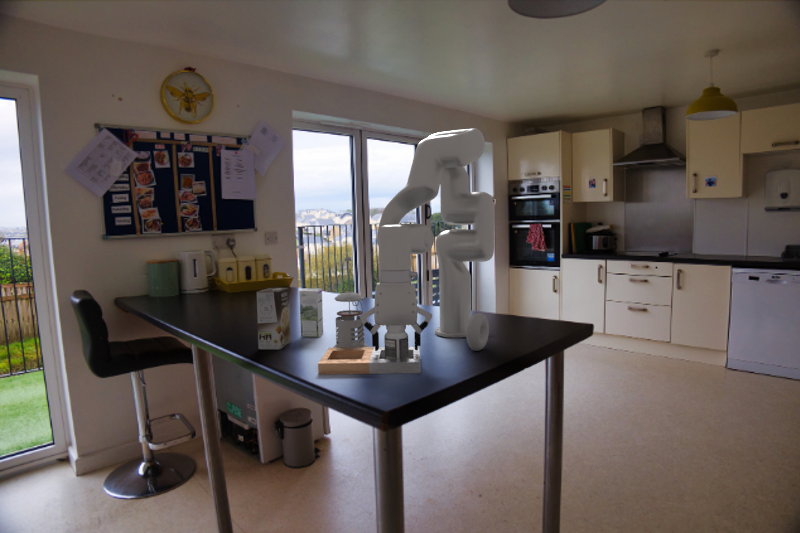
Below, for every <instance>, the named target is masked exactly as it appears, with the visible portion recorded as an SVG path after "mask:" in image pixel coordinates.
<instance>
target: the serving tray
mask: <svg viewBox="0 0 800 533" xmlns="http://www.w3.org/2000/svg"><path fill="white" fill-rule="evenodd" d="M420 352H421V351H420V346H418V350H415V346H409V359H385V346H379V349H378V350H377V351H375V347H372V346H368V347H345V348H333V347H328V348H327V350H326V351H325V353H324V354H323V356H322V357H321V358H320V360H319V362H318V363H317V369H318V370H317V373H318V375H370V374H371V375H372V374H373V375H375V374H376V375H377V374H379V375H380V374H383V375H384V374H390V375H391V374H393V375H394V374H421V371H422V370H421V368H422V366H421V353H420Z"/></svg>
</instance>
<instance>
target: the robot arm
mask: <svg viewBox="0 0 800 533" xmlns="http://www.w3.org/2000/svg"><path fill="white" fill-rule="evenodd" d="M485 143H486V141H485V137H484V135H483V132H482V131H481V130H479V129H478V128H475V127H473V128H472V127H471V128H465V129H464V128H463V129H455V130H447V131H441V132H440V131H439V132H436V133H433V134H431V135H428V137H426V138H424V139H422V140H421V141H419V143H418V144H417V146H416V147H415V151H414V156H413V159H412V164H411V167H410V170H409V174H408V178H407V183H406V185H405V186H404V187H403V188H402V189H401V190H399V192H398V193H396V194H395V196H393V198H391V200H390V201H388V203H387V204H386V206H385V208H384V209H383V211H382V214H381V217H380V220H379V224H378V227H377V233H376V243H377V246H378V276H379V277H378V278H379V281H378V282H376V284H375V285H376V286H375V290H374V291H375V293H374V307H372V308H369V309H368V310H366V311H365V312H363V314H361V315H359V316H360V319H361V321H362V323H363V324H364V328H365V329H367V331H369V333H370V334H371V345H372V346H371V347H375V351H377V350H378V349H379V347H380V338H379V336H380V335H379V331H378V330H380V328H381V327H386V326H389V325H403V326H406V327H407V326H411V327H412V329H414V347H415V350H418V347H420V346H421V339H422V338H421V334H422V332H423V331H424V330H425V329H426V328H427V327H428V326H429V323H430V322H431V320H432V318H433V314H432V313H431V312H430V311H427V310H426V309H424V308H421V307H419V306H418V300H417V299H418V297H417V291H416V285H415V282H414V281H412V280H413V279H417V278H418V272H417V271H413V270H412V255H423V254H427V253H428V252H429V251H430V250H431V249H432V248H433V246H434V243H435V251H436V257H437V263H438V276H439V277H438V278H439V279H438V280H439V284H438V286H439V287H438V288H439V290H438V292H439V327H436V328H435V329H434V334H435V335H436V336H439V337H445V338H453V339H454V338H455V339H456V338H459V339H460V338H467V337H466V331H467V325H468V322H469V320H470V318H471V316H472V276H471V273H470V271H469V269H468V268H467V266H466V264H465V262H468V263H469V262H471V263H472V262H473V263H474V262H475V263H478V262H480V263H481V262H482V263H483V262H488V261H490V260H491V259H492V258H493V256H494V253H495V240H496V239H495V238H496V237H495V235H496V234H495V232H496V231H495V230H496V228H495V220H496V218H495V217H496V216H495V215H496V214H495V204H494V200H493V197H492V196H491V195H490V193H488V192H486V191H470V183H469V181H470V176H469V174H468V172H467V170H466V168H465V167H466V166H468V165H470V164H472V163H474V162H476V161H477V160H479V159H480V158H481V157H482V156H483V154H484V152H485V148H486V144H485ZM439 191H440V217H441V221H442V222H443V223H444V224H446V225H452V226H465V225H466V226H470V225H475V228H476V229H469V228H467V229H465V228H464V229H460V228H459V229H457V228H455V229H447V230H444V231H441V232H440V233H439V234H438V235H437V237H436V238H435V234H434V232H433V230H432V229H431V228H430V227H429V226H428V225H426V224H423V223H400V222H401V221H402V220H403V219H404V217H405V216H406V215H407V214H409V213H410V212H412V211H413V210H415V209H417V208H419V207H422V206H424V205H426V204H427V203H429V202H431V201H432V200H434V199H436V197H437V196H438V195H439ZM373 314H374V324H372V323H371V322H370V321H369V320H368V317H370V316H372V315H373ZM418 314H419V315H421V316H423V317H424V320H423V321H422V322H421V323H420V324H419V323H418Z"/></svg>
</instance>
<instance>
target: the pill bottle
mask: <svg viewBox="0 0 800 533" xmlns="http://www.w3.org/2000/svg"><path fill="white" fill-rule="evenodd" d="M406 328H407V326H403V325H389V326H385V329H386V330H387V332H386V333H385V334H384V340H383V341H384V347H385V359H409V347H410V346H409V334H408V333H407V332H406Z"/></svg>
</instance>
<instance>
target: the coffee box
mask: <svg viewBox="0 0 800 533" xmlns="http://www.w3.org/2000/svg"><path fill="white" fill-rule="evenodd" d="M255 294H256V311H257V312H256V313H257V316H256V317H257V318H256V319H257V342H258V344H257V345H258V350H281V349H283V348H284V347H285V346H287V345H289V344H290V343H291V342H292V336H291V335H292V334H291V332H292V331H291V303H290V302H291V300H290V287H268V288H265V289H261V290H257V291H256V293H255Z"/></svg>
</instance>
